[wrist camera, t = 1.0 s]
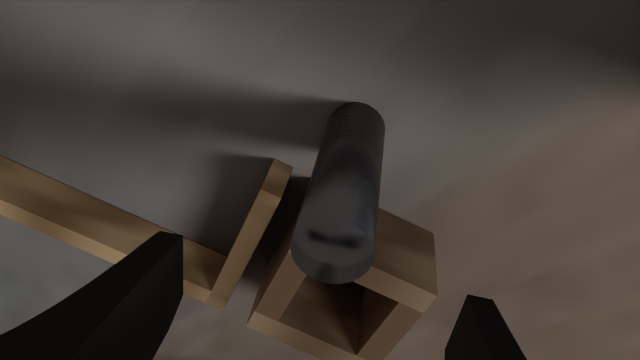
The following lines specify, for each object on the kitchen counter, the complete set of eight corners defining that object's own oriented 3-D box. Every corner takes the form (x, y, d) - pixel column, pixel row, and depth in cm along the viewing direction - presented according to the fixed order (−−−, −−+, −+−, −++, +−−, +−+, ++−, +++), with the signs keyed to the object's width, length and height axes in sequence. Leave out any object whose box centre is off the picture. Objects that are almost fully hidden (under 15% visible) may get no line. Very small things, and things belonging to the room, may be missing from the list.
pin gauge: (395, 118, 21) (389, 241, 14) (368, 163, 22) (350, 295, 16) (342, 92, 21) (310, 204, 14) (317, 139, 22) (277, 262, 15)
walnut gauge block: (433, 234, 24) (437, 296, 20) (372, 313, 27) (366, 378, 23) (315, 178, 23) (299, 232, 20) (266, 266, 26) (245, 326, 23)
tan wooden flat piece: (326, 102, 21) (316, 129, 19) (237, 275, 27) (223, 310, 25) (-81, -98, 19) (-141, -92, 17) (-82, 134, 25) (-127, 159, 23)
